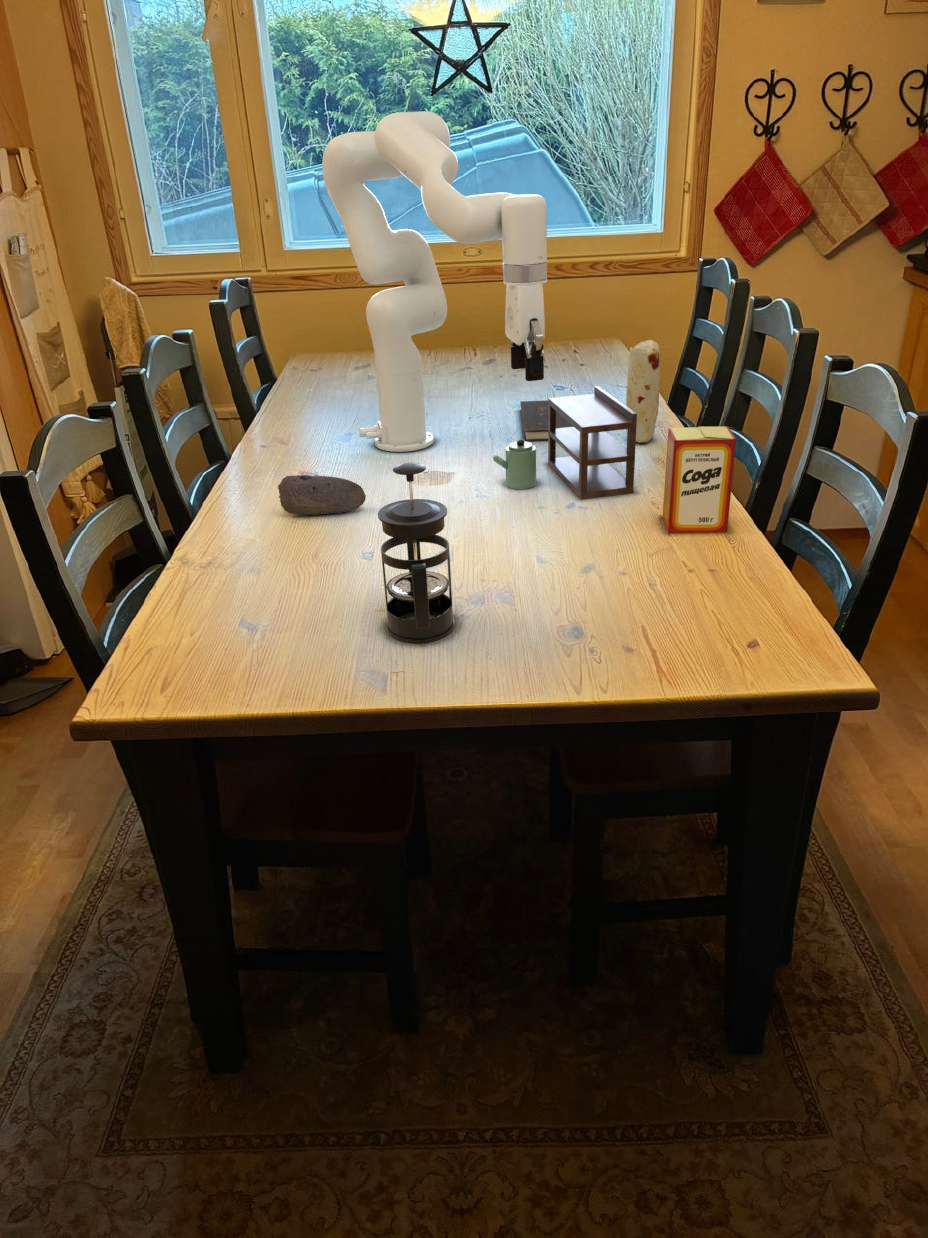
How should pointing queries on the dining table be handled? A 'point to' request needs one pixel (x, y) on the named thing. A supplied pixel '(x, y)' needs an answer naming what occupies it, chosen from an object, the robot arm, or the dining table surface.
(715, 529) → the baking soda box
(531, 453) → the kettle
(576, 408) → the stand
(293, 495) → the perforated stone tool
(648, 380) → the food model
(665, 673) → the dining table surface
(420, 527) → the french press
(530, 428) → the hardcover book
